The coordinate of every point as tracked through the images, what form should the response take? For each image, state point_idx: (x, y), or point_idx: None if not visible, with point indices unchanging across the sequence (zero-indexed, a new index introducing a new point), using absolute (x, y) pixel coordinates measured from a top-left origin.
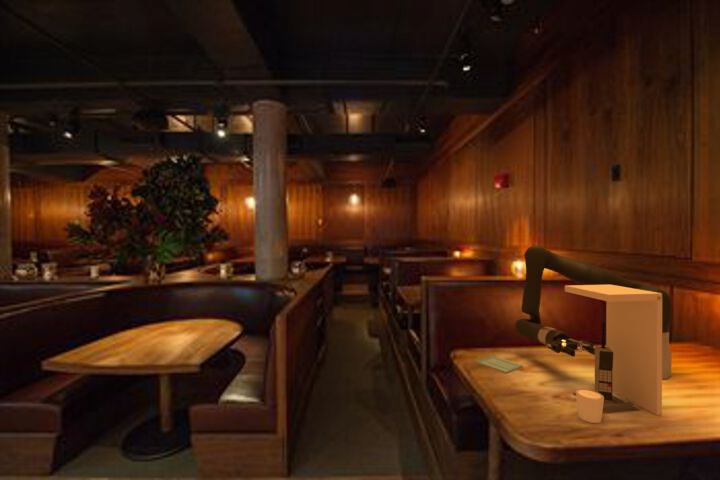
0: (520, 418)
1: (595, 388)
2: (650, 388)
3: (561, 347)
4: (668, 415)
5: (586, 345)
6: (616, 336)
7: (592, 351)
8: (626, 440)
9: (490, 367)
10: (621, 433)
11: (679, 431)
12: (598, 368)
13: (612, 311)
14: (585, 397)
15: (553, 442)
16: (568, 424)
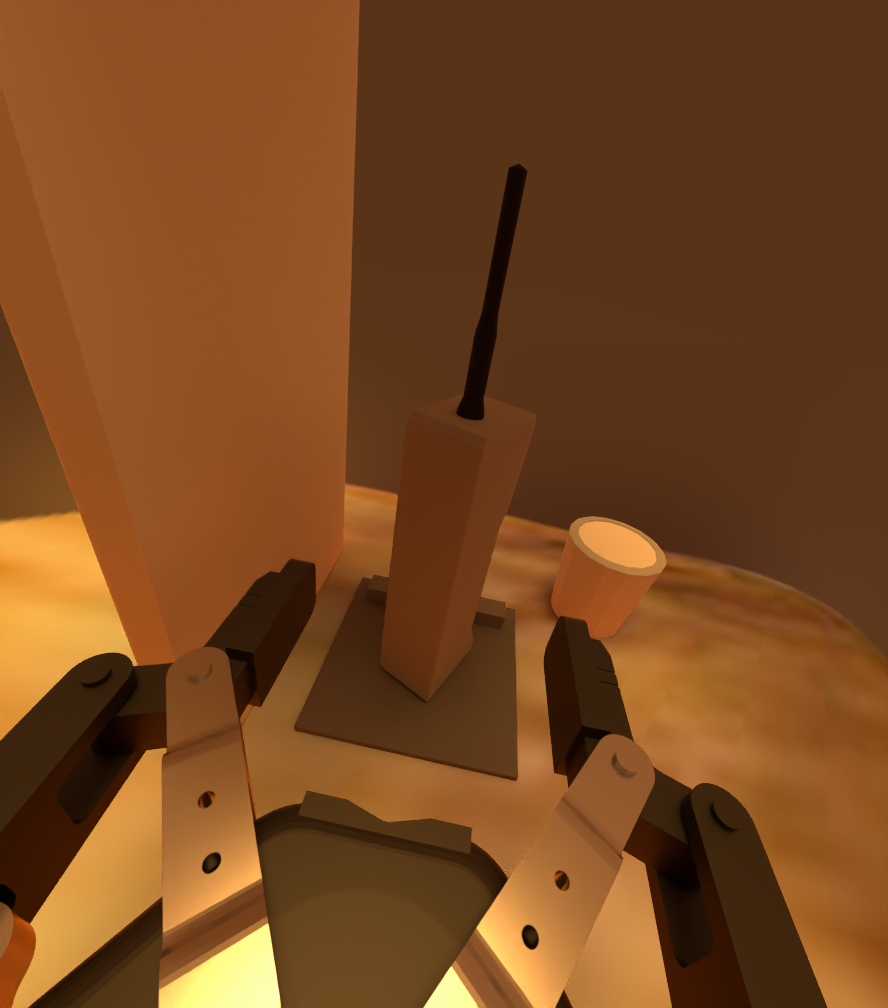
0: (853, 684)
1: (443, 661)
2: (336, 490)
3: (655, 786)
4: None
5: (234, 680)
6: (204, 339)
7: (293, 624)
8: (557, 530)
9: None
10: (547, 544)
11: (388, 506)
12: (498, 529)
13: None
14: (646, 537)
15: (749, 577)
16: (678, 609)
